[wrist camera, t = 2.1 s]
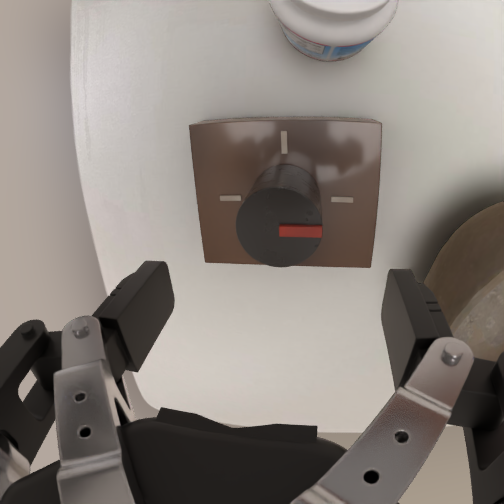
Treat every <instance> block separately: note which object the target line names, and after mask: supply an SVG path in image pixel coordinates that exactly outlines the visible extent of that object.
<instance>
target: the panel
mask: <svg viewBox="0 0 504 504" xmlns="http://www.w3.org/2000/svg"><path fill="white" fill-rule="evenodd" d="M189 130H190V140H191V150H192V160H193V169H194V178H195V187H196V196H197V204H198V212H199V220H200V228H201V236H202V243H203V251H204V258H205V262H206V263H231V264H259V265H265V264H263V263H261V262H258V261H257V260H255V259H254V258H252V257H251V256H250V255H249V254H248V253H247V252H246V251H245V250H244V249H243V247H242V246H241V244H240V242H239V240H238V237H237V234H236V217H237V213H238V211H239V208H240V206H241V205H242V203H243V201H244V200H245V198H246V196H247V195H248V193H249V191H250V190H251V188H252V186H253V185H254V183H255V181H256V180H257V178H258V177H259V176H260V175H261V174H262V173H263V172H264V171H265V170H267V169H269V168H271V167H273V166H277V165H293V166H296V167H299V168H301V169H303V170H305V171H306V172H308V173H309V174H310V175H311V176H312V177H313V178H314V180H315V181H316V183H317V185H318V188H319V191H320V198H321V209H322V221H323V234H322V239H321V242H320V244H319V246H318V248H317V249H316V251H315V252H314V253H313V254H312V255H311V256H310V257H309V258H308V259H306V260H305V261H303V262H301V263H299V264H296V265H293V266H322V267H358V268H370V267H371V261H372V253H373V245H374V237H375V228H376V218H377V207H378V195H379V181H380V164H381V139H382V123H380V122H378V121H375V120H373V119H360V118H340V117H255V118H235V119H220V120H207V121H201V122H198V123H194V124H191V125H189Z"/></svg>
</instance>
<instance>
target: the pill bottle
mask: <svg viewBox="0 0 504 504" xmlns="http://www.w3.org/2000/svg"><path fill="white" fill-rule="evenodd" d="M269 3H270V5H271V8H272V10H273V12H274V13H275V15H276V17H277V19H278V21H279V23H280V25H281V28H282V29H283V32H284V34H285V36H286V37H287V39H288V40H289V42H290V43H291V44H292V45H293V46H294V47H295V48H296V49H297V50H298V51H300V52H301V53H303V54H305V55H307V56H309V57H311V58H314V59H317V60H322V61H339V60H344V59H347V58H349V57H351V56H353V55H355V54H357V53H358V52H359V51H361V50H362V49H363V48H364V47H365V46H366V45H367V44H368V43H370V42H371V41H372V40H373V39H374V38H375V37H376V36H378V35H379V34H380V33H381V32H382V31H383V30H384V29H385V28H386V27H387V26H388V24H389V23H390V22H391V20H392V18H393V17H394V15H395V12H396V9H397V4H398V0H269Z"/></svg>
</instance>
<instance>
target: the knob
mask: <svg viewBox="0 0 504 504" xmlns="http://www.w3.org/2000/svg"><path fill="white" fill-rule="evenodd" d="M236 234H237V237H238V240H239V242H240V244H241V246H242V247H243V249H244V250H245V251H246V252H247V253H248V254H249V255H250V256H251V257H252V258H254V259H255V260H257V261H258V262H261V263H263V264H265V265H269V266H273V267H289V266H293V265H296V264H299V263H301V262H303V261H305V260H306V259H308V258H309V257H310V256H311V255H312V254H313V253H314V252H315V251H316V249H317V248H318V246H319V244H320V242H321V239H322V234H323V221H322V209H321V198H320V191H319V188H318V185H317V183H316V181H315V180H314V178H313V177H312V176H311V175H310V174H309V173H308V172H306V171H305V170H303V169H301V168H299V167H296V166H293V165H277V166H273V167H271V168H269V169H267V170H265V171H264V172H263V173H262V174H261V175H260V176H259V177H258V178H257V180H256V181H255V183H254V185H253V186H252V188H251V190H250V191H249V193H248V195H247V196H246V198H245V200H244V201H243V203H242V205H241V206H240V208H239V211H238V213H237V217H236Z"/></svg>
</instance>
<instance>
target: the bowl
mask: <svg viewBox="0 0 504 504" xmlns="http://www.w3.org/2000/svg"><path fill="white" fill-rule="evenodd" d="M423 284H425V285H426V286H427V287H428V288H429V289H430V290H431V291H433V293H434V295H435V297H436V299H437V301H438V304H439V305H440V307H441V309H442V310H441V311H442V312H443V314H444V316H445V318H446V320H447V323H448V325H449V327H450V329H451V332H452V334H453V336H454V338H456V339H459V340H461V341H463V342H464V343H466V344H467V345H468V346H469V347H470V348H471V350H472V352H473V355H474V357H475V358H479V359H485V360H490V361H495V362H496V361H497V359H498V358H499V356H500V354H501V353H502V352H503V351H504V201H503V202H499V203H497V204H494V205H492V206H490V207H488V208H486V209H484V210H482V211H480V212H479V213H477V214H475V215H474V216H472V217H471V218H470V219H468V220H467V221H466V222H465V223H463V224H462V225H461V226H460V227H459V228H458V229H457V230H456V231H455V232H454V233H453V234H452V236H451V237H450V238H449V240H448V241H447V242H446V243H445V245H444V246H443V247H442V249H441V250H440V252H439V254H438V255H437V257H436V259H435V261H434V263H433V265H432V267H431V269H430V271H429V273H428V275H427V277H426V279H425V281H424V282H423Z"/></svg>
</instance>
